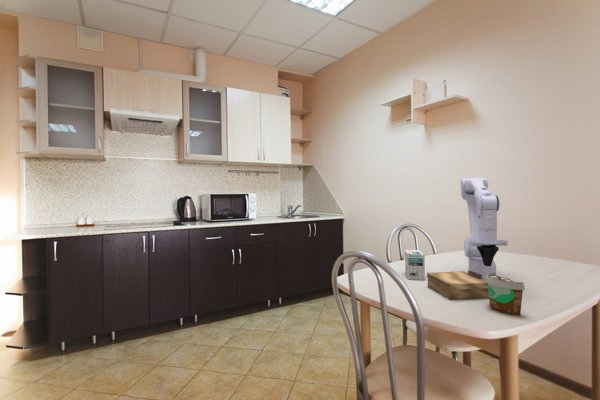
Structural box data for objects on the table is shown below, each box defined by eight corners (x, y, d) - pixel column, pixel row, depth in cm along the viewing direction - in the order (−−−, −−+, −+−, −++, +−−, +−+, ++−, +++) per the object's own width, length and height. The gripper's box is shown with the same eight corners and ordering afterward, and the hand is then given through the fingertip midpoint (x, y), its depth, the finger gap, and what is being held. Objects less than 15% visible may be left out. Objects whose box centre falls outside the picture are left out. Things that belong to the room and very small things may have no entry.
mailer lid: (463, 275, 120) (463, 267, 120) (492, 287, 105) (492, 278, 105) (426, 277, 118) (427, 268, 118) (450, 289, 103) (450, 279, 103)
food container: (476, 302, 101) (476, 272, 101) (494, 302, 101) (494, 271, 101) (504, 318, 88) (504, 283, 88) (524, 317, 89) (524, 282, 89)
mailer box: (464, 285, 119) (464, 274, 119) (490, 297, 105) (490, 284, 105) (427, 287, 118) (427, 275, 118) (449, 299, 104) (449, 286, 104)
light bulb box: (425, 280, 127) (425, 254, 127) (408, 279, 128) (408, 253, 128) (420, 273, 137) (420, 249, 137) (404, 273, 139) (404, 249, 139)
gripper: (476, 230, 108) (476, 269, 108) (514, 229, 109) (514, 267, 109) (463, 228, 115) (463, 264, 115) (499, 227, 116) (499, 263, 116)
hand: (487, 265), depth 113 cm, fingers closed
